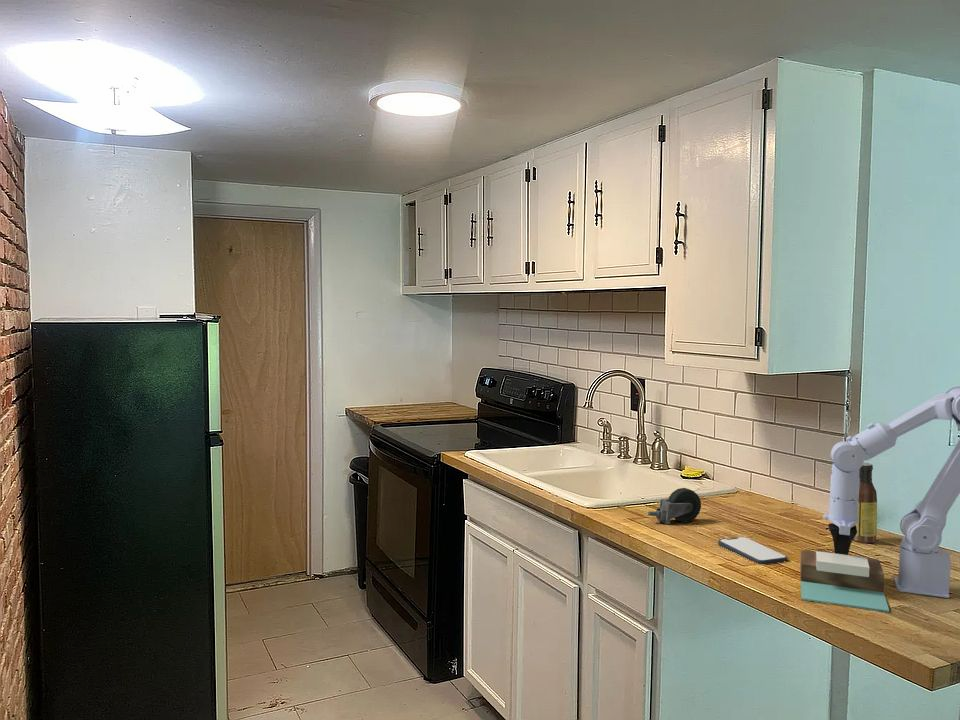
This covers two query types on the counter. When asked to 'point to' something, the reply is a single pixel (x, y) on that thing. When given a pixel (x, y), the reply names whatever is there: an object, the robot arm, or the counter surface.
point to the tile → (842, 564)
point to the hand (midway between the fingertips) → (840, 558)
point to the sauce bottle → (866, 506)
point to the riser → (843, 580)
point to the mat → (844, 596)
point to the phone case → (752, 550)
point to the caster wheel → (678, 506)
